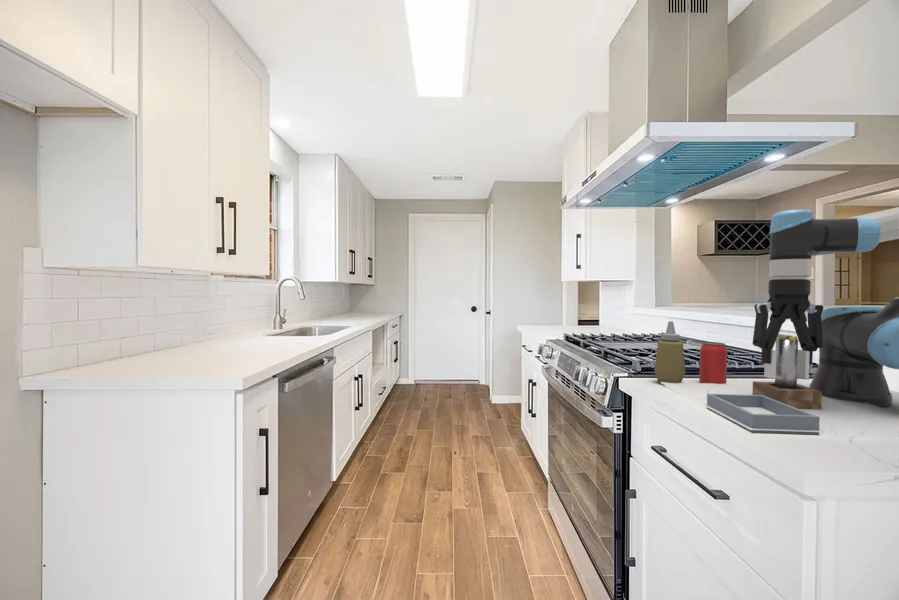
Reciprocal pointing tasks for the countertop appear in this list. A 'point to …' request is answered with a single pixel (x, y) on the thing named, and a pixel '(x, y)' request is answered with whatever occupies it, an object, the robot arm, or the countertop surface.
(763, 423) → the tray
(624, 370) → the countertop surface
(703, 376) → the beer can
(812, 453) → the countertop surface
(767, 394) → the block
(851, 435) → the countertop surface
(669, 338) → the squeeze bottle
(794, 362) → the steel pin
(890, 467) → the countertop surface
